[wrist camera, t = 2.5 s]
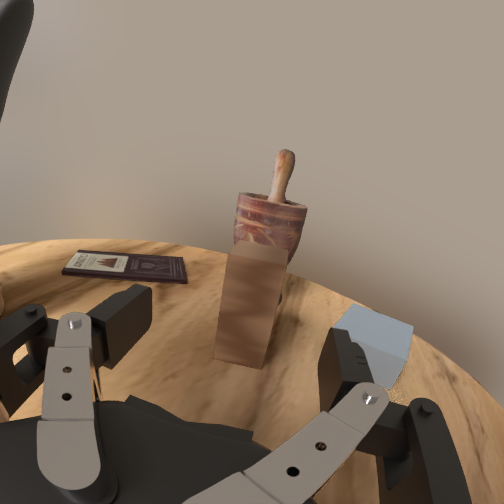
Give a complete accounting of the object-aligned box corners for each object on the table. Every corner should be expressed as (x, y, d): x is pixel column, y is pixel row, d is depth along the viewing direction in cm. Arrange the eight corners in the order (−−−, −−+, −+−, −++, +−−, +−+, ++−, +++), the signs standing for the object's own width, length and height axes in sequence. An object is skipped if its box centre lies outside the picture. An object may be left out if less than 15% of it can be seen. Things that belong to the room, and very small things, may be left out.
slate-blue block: (319, 361, 26) (331, 329, 25) (343, 331, 32) (353, 303, 31) (389, 392, 22) (407, 360, 21) (400, 354, 28) (413, 326, 27)
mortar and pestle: (221, 271, 44) (241, 142, 38) (273, 276, 45) (298, 153, 40) (225, 307, 33) (254, 134, 27) (293, 312, 35) (329, 151, 29)
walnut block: (213, 358, 24) (228, 253, 21) (224, 333, 28) (239, 239, 25) (261, 369, 23) (287, 265, 20) (266, 343, 27) (288, 249, 24)
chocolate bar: (186, 280, 37) (61, 270, 31) (186, 286, 37) (62, 277, 31) (182, 257, 45) (78, 249, 39) (182, 262, 45) (78, 255, 39)
